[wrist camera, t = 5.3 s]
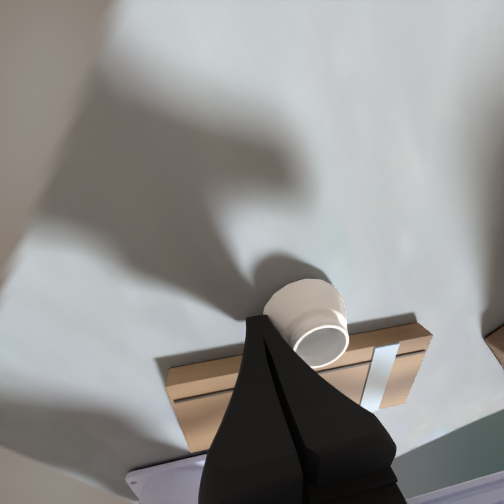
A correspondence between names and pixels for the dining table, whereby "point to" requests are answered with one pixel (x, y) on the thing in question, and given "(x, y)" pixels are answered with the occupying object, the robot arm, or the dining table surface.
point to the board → (336, 373)
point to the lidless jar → (310, 320)
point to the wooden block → (497, 344)
